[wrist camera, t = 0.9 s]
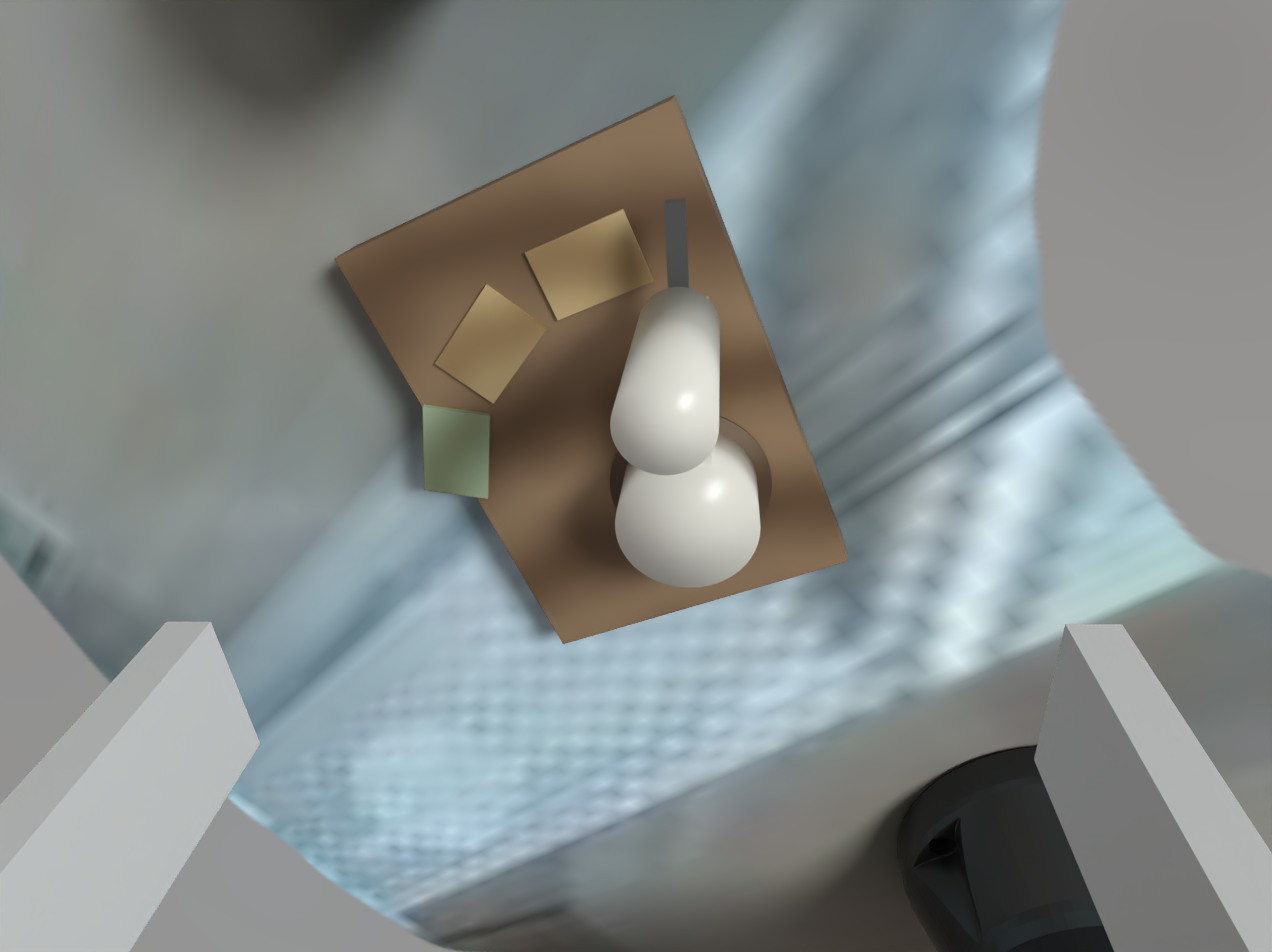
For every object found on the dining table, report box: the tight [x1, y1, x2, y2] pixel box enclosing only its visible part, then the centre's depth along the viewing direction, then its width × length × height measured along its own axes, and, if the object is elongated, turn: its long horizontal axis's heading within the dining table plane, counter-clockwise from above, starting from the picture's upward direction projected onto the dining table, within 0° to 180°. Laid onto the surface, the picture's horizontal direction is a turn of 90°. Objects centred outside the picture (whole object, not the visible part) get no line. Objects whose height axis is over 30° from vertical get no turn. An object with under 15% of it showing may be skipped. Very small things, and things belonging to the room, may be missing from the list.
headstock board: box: [335, 95, 848, 644], centre depth 35 cm, size 20×16×2 cm
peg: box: [610, 199, 761, 588], centre depth 28 cm, size 15×6×11 cm, turn 4°
